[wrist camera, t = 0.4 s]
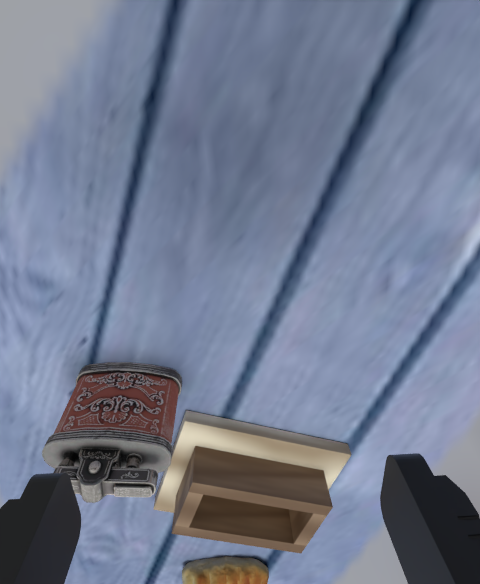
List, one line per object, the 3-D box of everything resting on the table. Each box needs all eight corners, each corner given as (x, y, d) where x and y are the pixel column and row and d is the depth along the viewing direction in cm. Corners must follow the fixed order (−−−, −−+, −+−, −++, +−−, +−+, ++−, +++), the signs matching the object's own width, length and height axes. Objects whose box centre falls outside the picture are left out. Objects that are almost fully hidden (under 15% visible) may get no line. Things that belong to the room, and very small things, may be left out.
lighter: (81, 393, 33) (29, 510, 24) (77, 359, 31) (19, 473, 22) (181, 397, 33) (166, 513, 25) (182, 365, 32) (167, 477, 23)
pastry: (260, 544, 44) (263, 583, 41) (273, 575, 48) (277, 614, 44) (178, 559, 45) (174, 599, 42) (196, 589, 48) (194, 628, 45)
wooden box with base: (186, 410, 34) (180, 456, 30) (347, 443, 37) (363, 491, 33) (155, 497, 39) (147, 547, 35) (298, 521, 42) (306, 570, 38)
